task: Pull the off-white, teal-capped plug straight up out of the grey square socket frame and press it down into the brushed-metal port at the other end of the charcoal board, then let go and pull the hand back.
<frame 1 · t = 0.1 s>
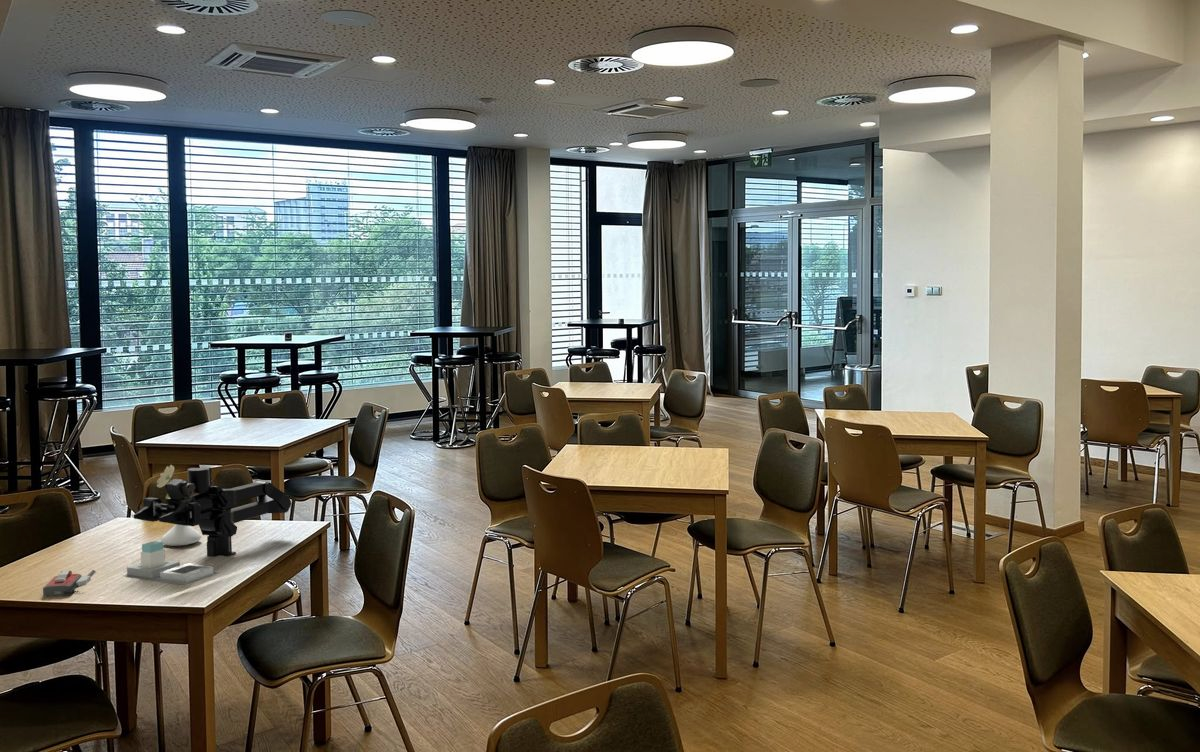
hand: (146, 518, 261), 17 cm above the table, tool horizontal, fingers open, 9 cm apart
plug: (153, 571, 267), point 1 cm above the table, touching station board
flower in vase: (179, 545, 299), on the table
station board: (170, 577, 264), on the table
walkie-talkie: (70, 588, 257), on the table
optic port: (187, 579, 262), resting on station board
grey square socket frame: (153, 574, 267), resting on station board
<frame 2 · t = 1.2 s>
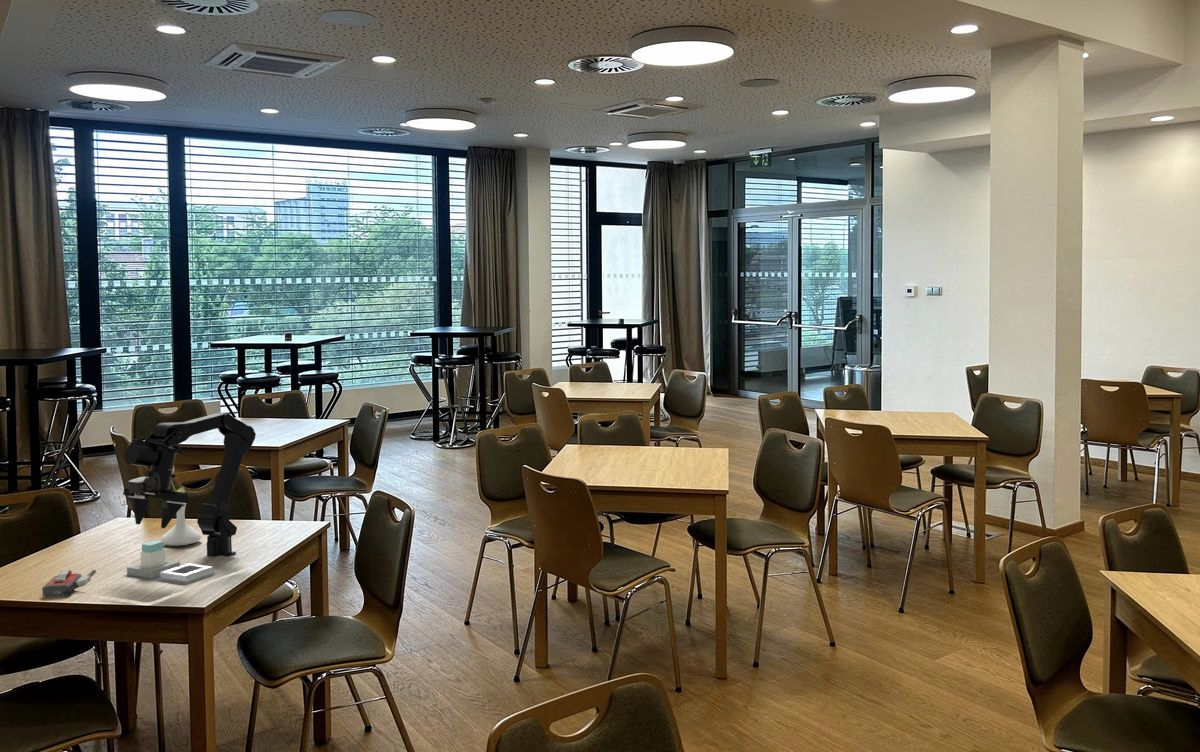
hand: (150, 526, 265), 14 cm above the table, tool tilted 15°, fingers open, 9 cm apart
nothing on the table moved.
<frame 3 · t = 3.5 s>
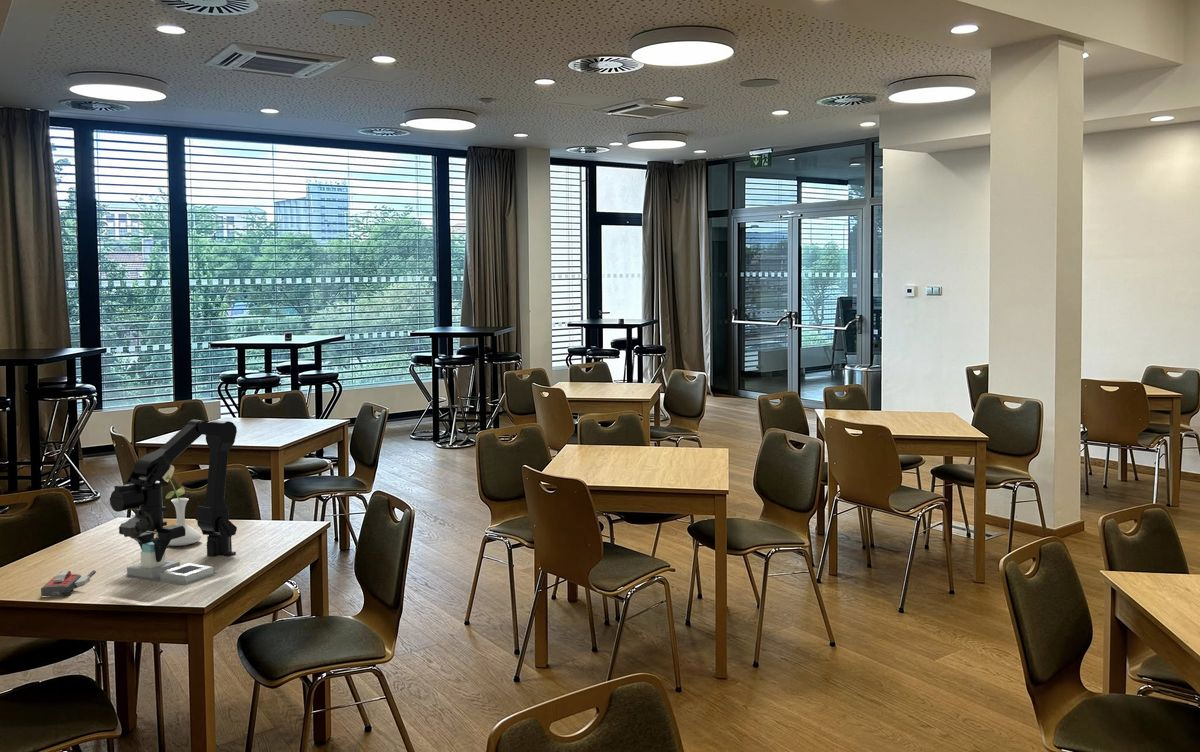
hand: (153, 561, 266), 4 cm above the table, tool pointing down, fingers closed on plug, 3 cm apart
plug: (153, 571, 267), point 1 cm above the table, touching gripper, station board
everything else where it was.
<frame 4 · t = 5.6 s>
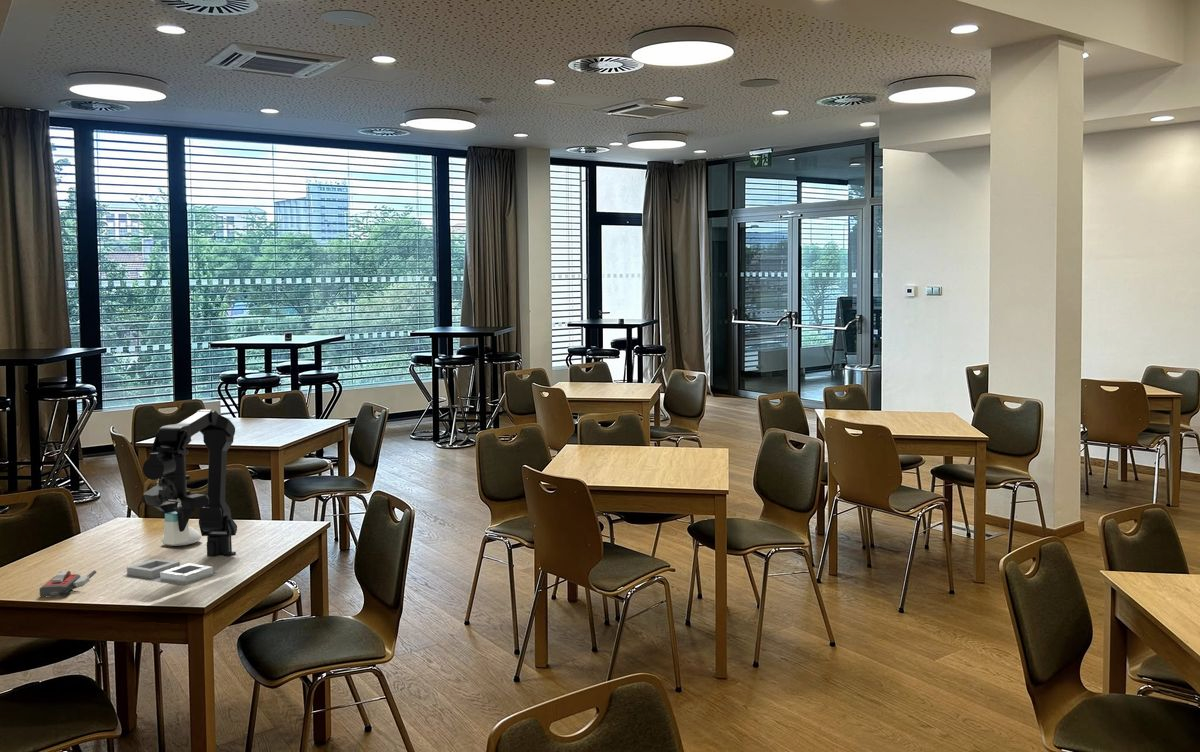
hand: (176, 530, 262), 13 cm above the table, tool pointing down, fingers closed on plug, 3 cm apart
plug: (176, 541, 262), point 10 cm above the table, touching gripper
everything else where it was.
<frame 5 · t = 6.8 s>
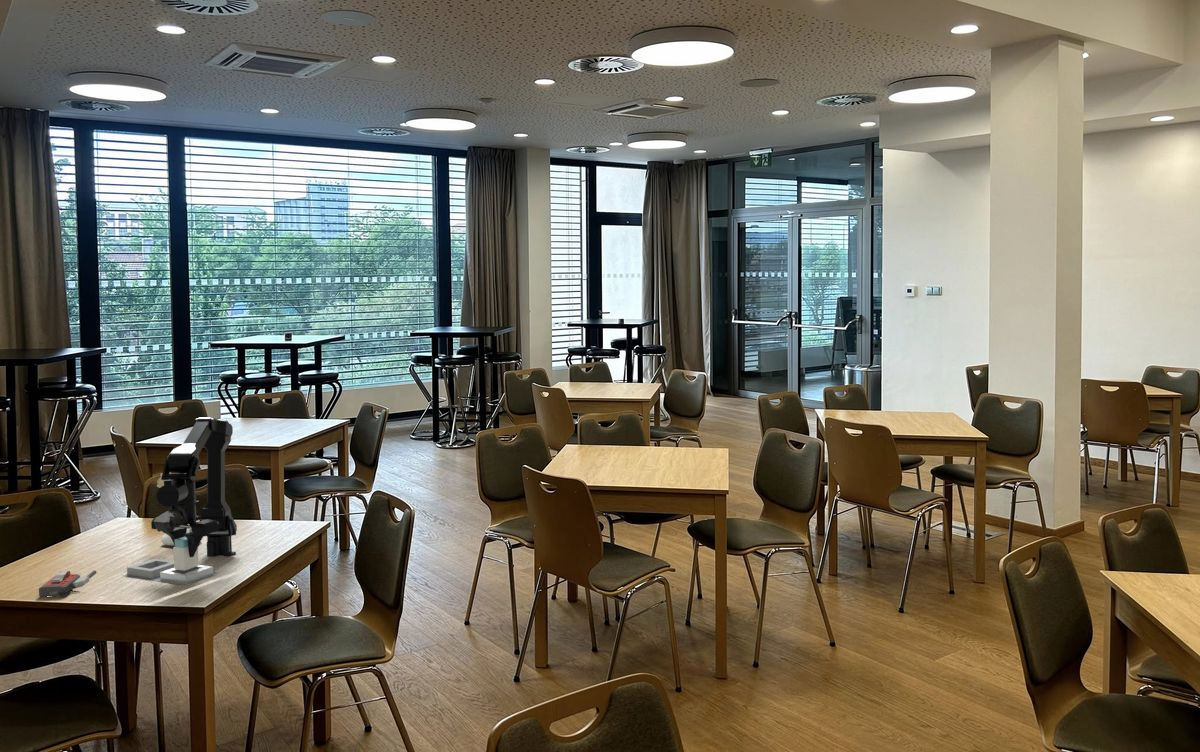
hand: (186, 556, 261), 6 cm above the table, tool pointing down, fingers closed on plug, 3 cm apart
plug: (186, 567, 262), point 3 cm above the table, touching gripper
everything else where it was.
when the fingers open (4 cm above the table, at t = 7.5 s): plug stays where it is, resting on station board.
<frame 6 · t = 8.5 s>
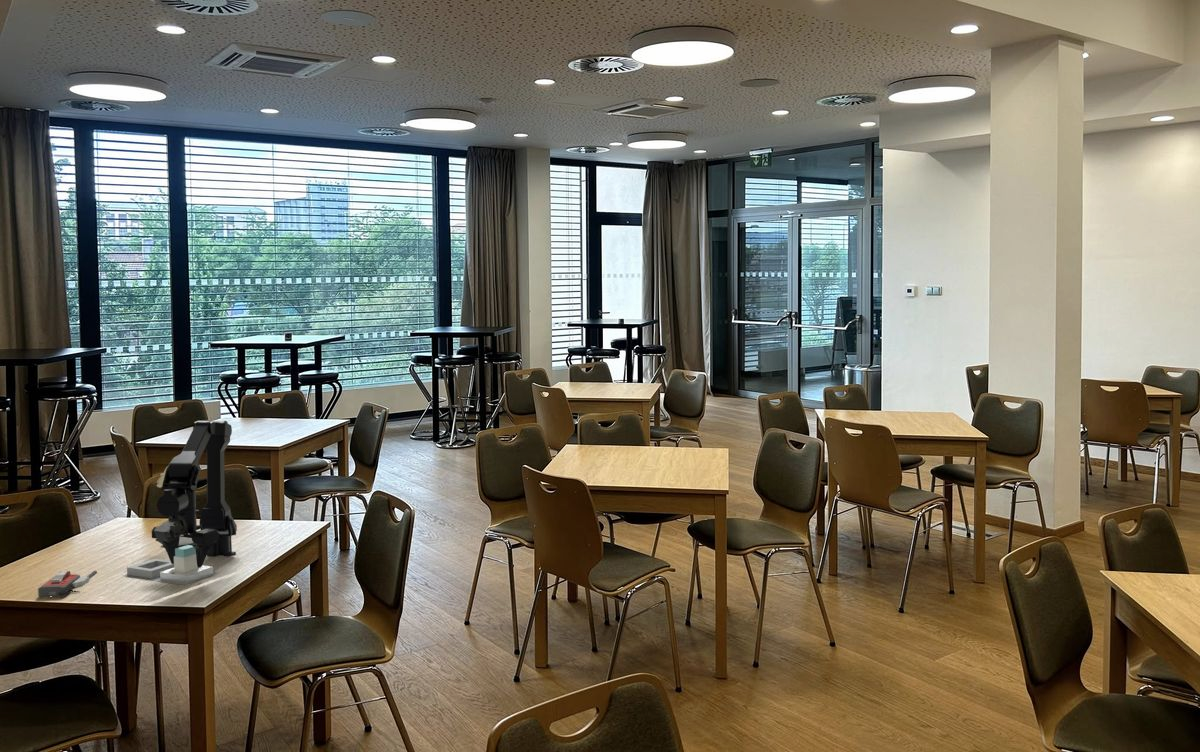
hand: (186, 565, 262), 4 cm above the table, tool pointing down, fingers open, 9 cm apart
plug: (186, 576, 262), point 1 cm above the table, touching station board
everything else where it was.
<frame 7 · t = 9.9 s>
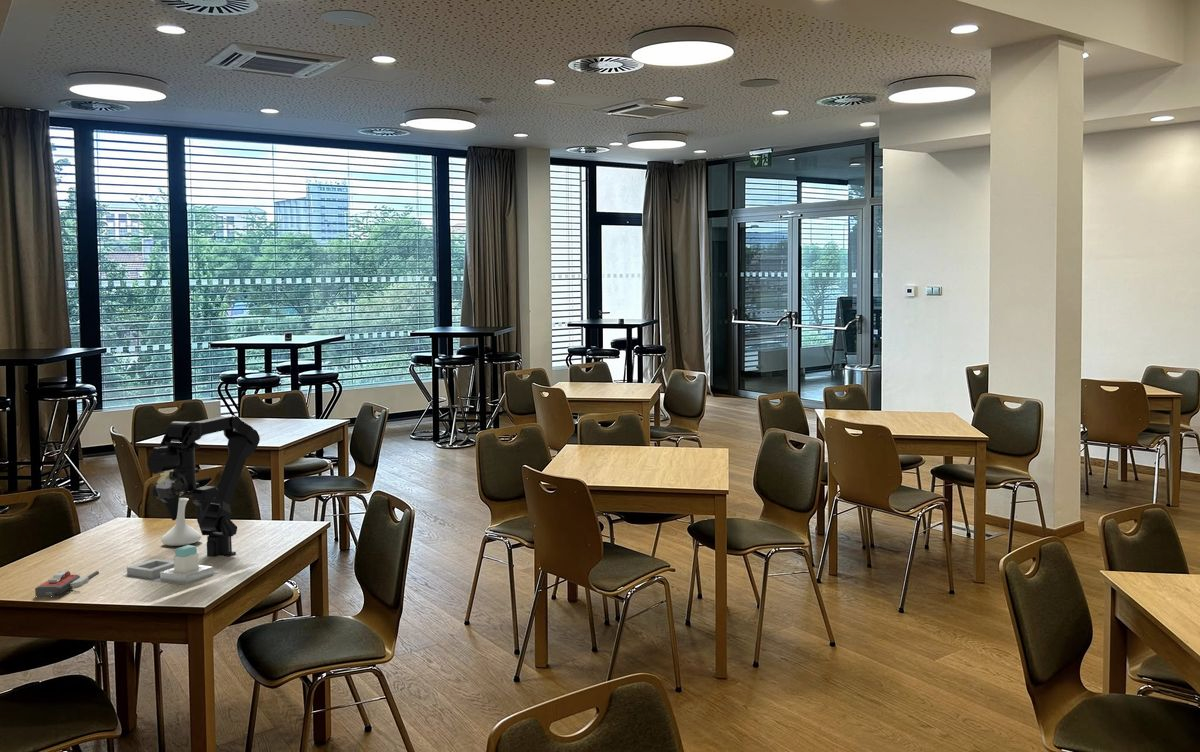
hand: (186, 521, 273), 13 cm above the table, tool pointing down, fingers open, 9 cm apart
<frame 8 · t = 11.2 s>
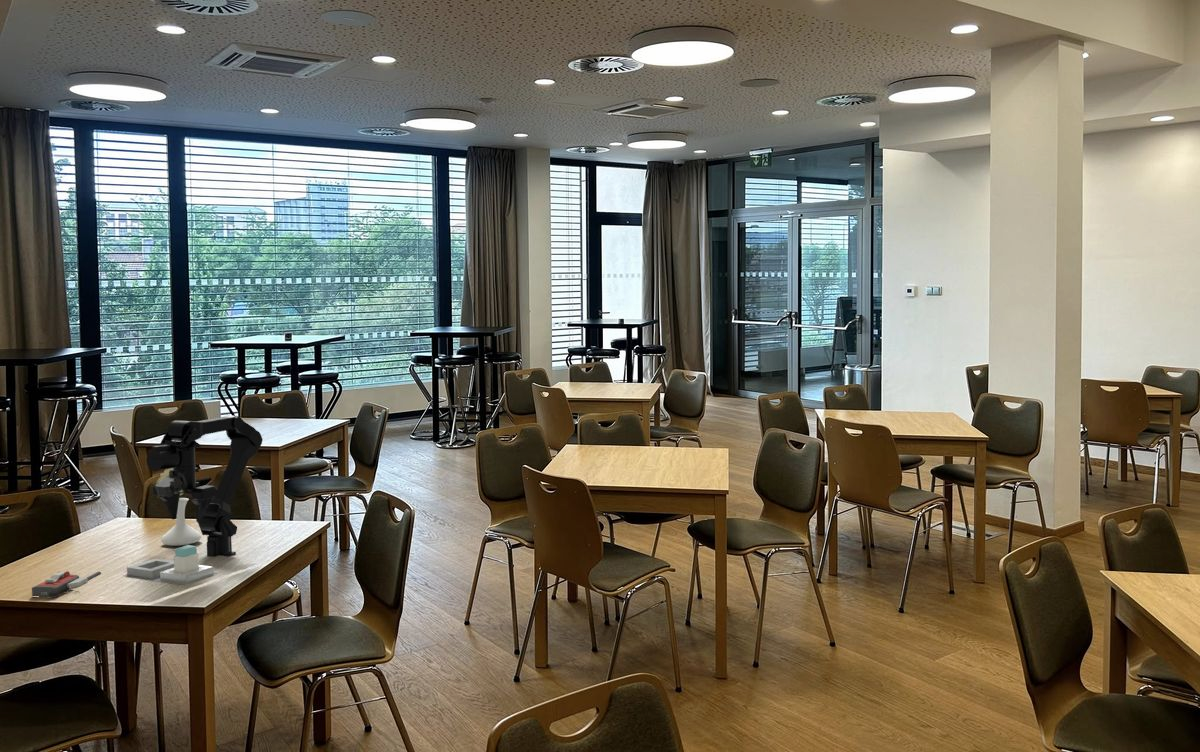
hand: (186, 520, 274), 13 cm above the table, tool pointing down, fingers open, 9 cm apart
at the end: plug 0.0 cm off-centre on the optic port, point 0.8 cm above the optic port's base; plug tilted 0°; the gripper is holding nothing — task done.
